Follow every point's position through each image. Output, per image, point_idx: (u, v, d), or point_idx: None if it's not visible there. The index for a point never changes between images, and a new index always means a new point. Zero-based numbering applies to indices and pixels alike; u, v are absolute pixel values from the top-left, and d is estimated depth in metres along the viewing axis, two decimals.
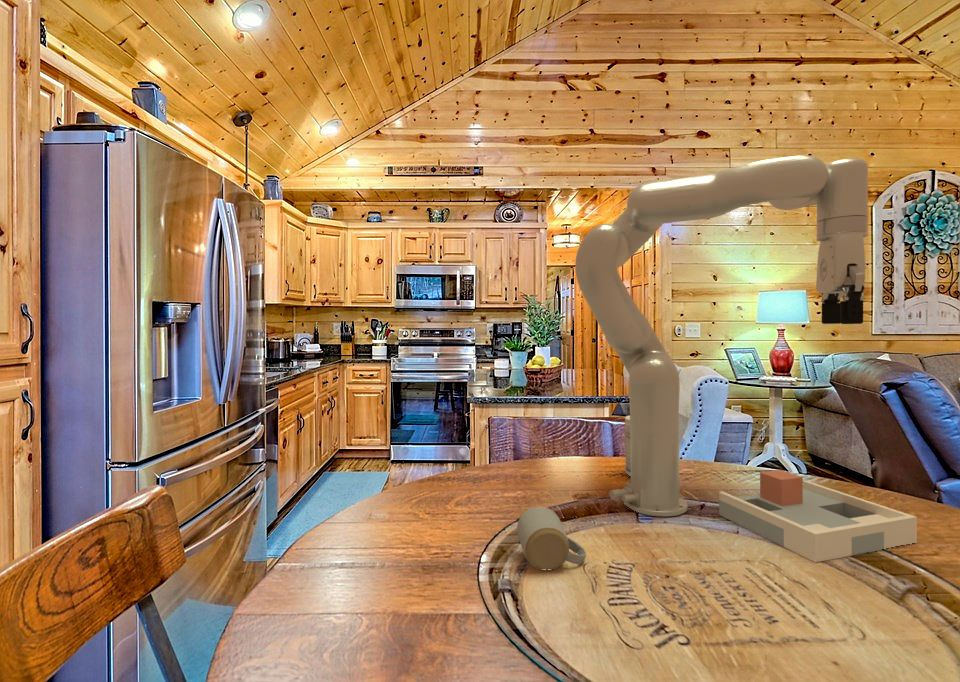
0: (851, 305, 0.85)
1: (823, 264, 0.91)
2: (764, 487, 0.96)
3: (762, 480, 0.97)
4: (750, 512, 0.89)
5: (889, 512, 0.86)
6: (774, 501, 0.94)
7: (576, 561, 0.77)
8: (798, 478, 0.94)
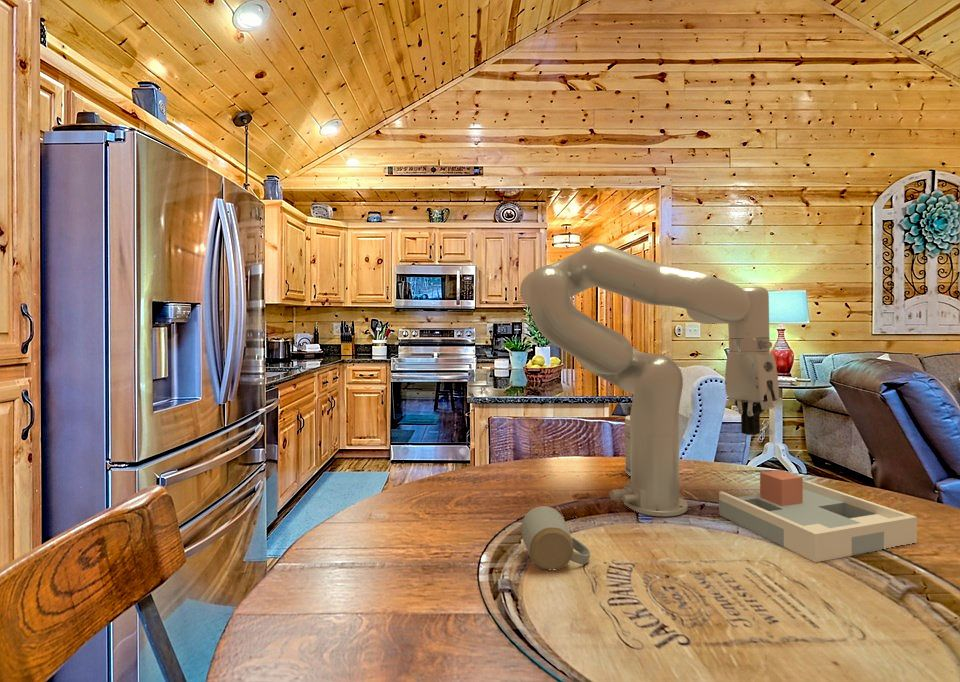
0: None
1: None
2: (764, 487, 0.96)
3: (762, 480, 0.97)
4: (750, 512, 0.89)
5: (889, 512, 0.86)
6: (774, 501, 0.94)
7: (580, 561, 0.77)
8: (798, 478, 0.94)
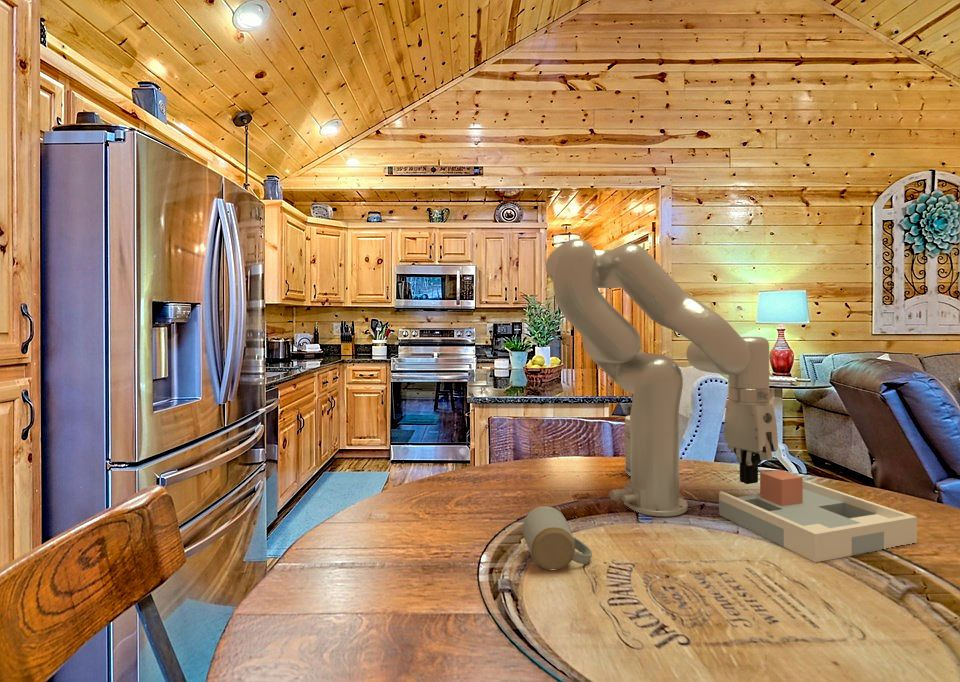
0: None
1: None
2: (764, 487, 0.96)
3: (762, 480, 0.97)
4: (750, 512, 0.89)
5: (889, 512, 0.86)
6: (774, 501, 0.94)
7: (582, 561, 0.77)
8: (798, 478, 0.94)
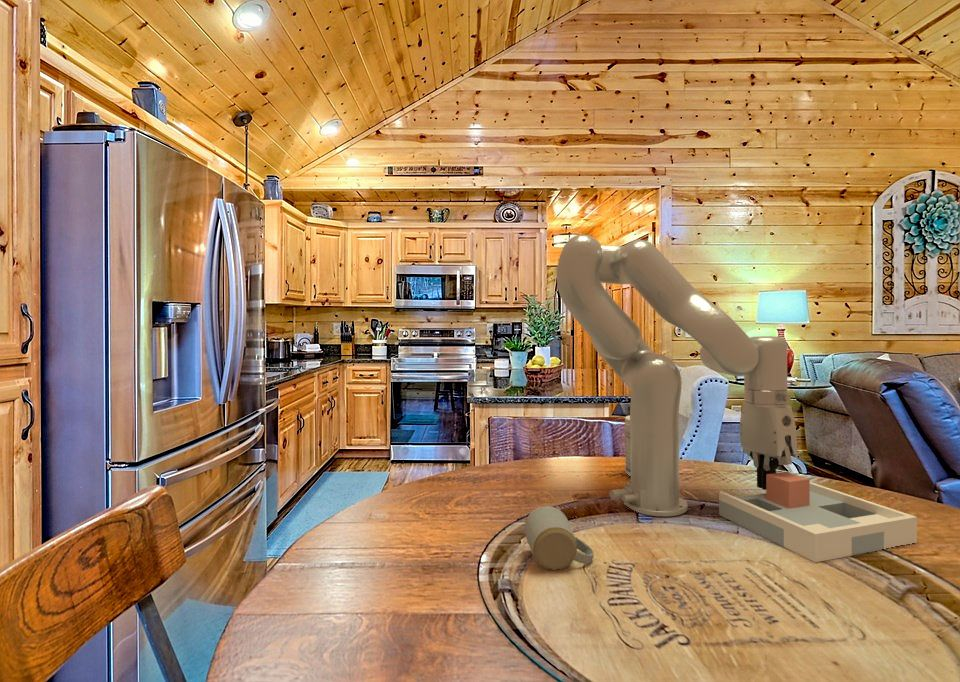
0: None
1: None
2: (771, 489, 0.95)
3: (768, 482, 0.96)
4: (750, 512, 0.89)
5: (889, 512, 0.86)
6: (781, 503, 0.93)
7: (583, 561, 0.77)
8: (805, 480, 0.93)
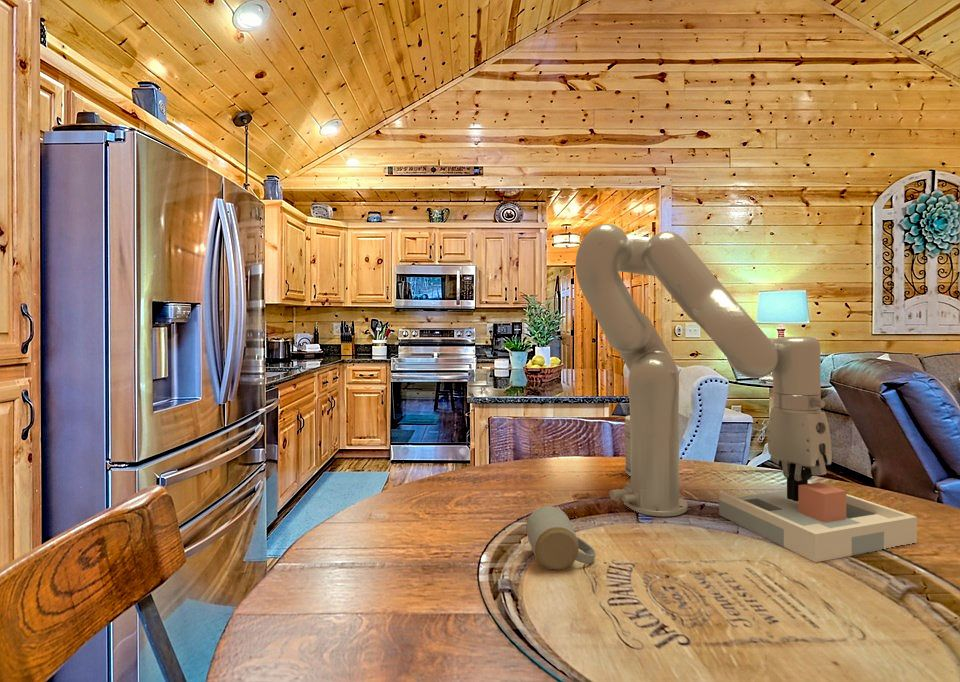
0: None
1: None
2: (804, 501, 0.88)
3: (801, 494, 0.89)
4: (750, 512, 0.89)
5: (889, 512, 0.86)
6: (815, 517, 0.86)
7: (585, 561, 0.77)
8: (842, 492, 0.86)
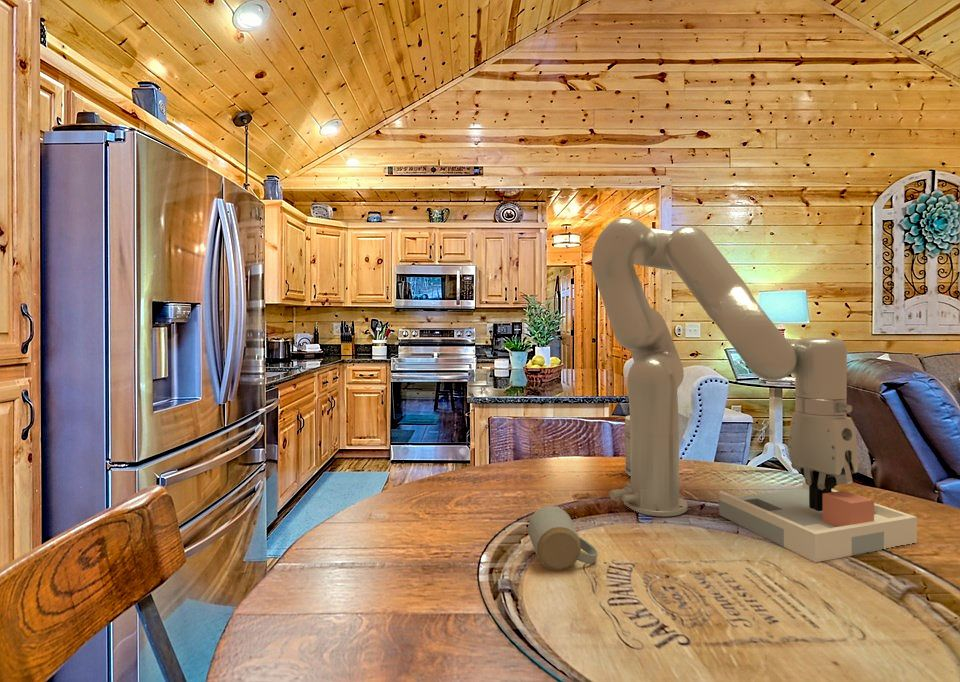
0: None
1: None
2: (828, 510, 0.84)
3: (825, 503, 0.84)
4: (750, 512, 0.89)
5: (889, 512, 0.86)
6: None
7: (587, 560, 0.77)
8: (869, 501, 0.81)
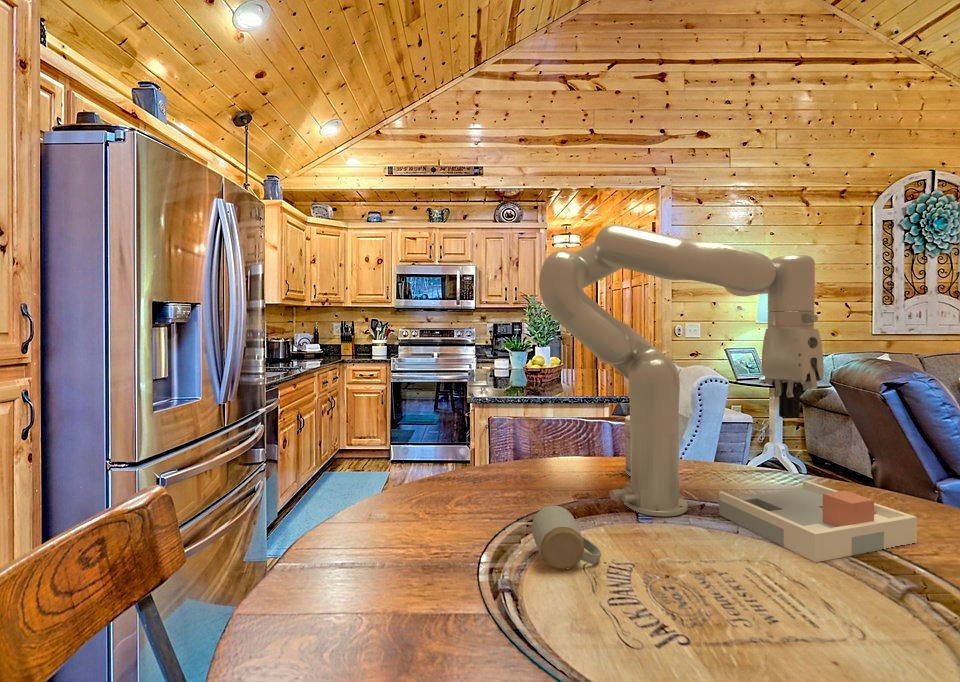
0: None
1: None
2: (828, 510, 0.84)
3: (825, 503, 0.84)
4: (750, 512, 0.89)
5: (889, 512, 0.86)
6: None
7: (591, 560, 0.77)
8: (869, 501, 0.81)
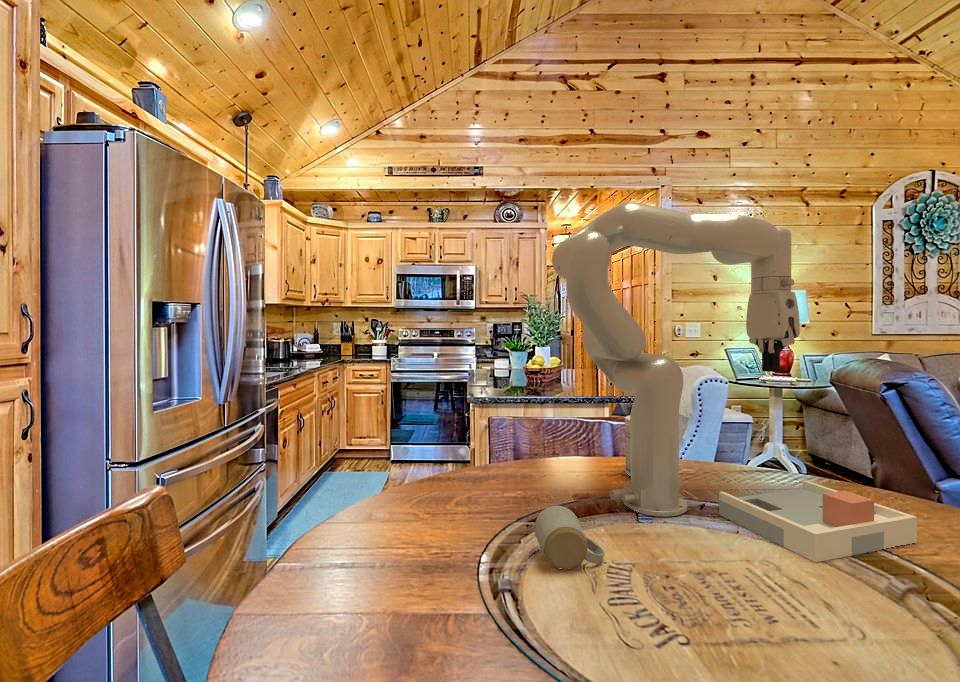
0: None
1: None
2: (828, 510, 0.84)
3: (825, 503, 0.84)
4: (750, 512, 0.89)
5: (889, 512, 0.86)
6: None
7: (594, 560, 0.77)
8: (869, 501, 0.81)
